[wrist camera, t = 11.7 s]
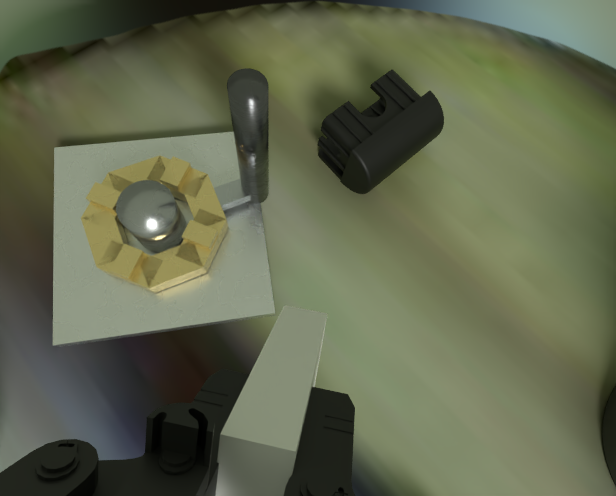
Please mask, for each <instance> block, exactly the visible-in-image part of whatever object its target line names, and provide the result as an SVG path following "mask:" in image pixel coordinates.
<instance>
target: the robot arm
mask: <svg viewBox="0 0 616 496" xmlns="http://www.w3.org/2000/svg"><path fill="white" fill-rule="evenodd" d="M327 314H328V313H323V312H318V311H313V310H308V309H303V308H298V307H292V306H287V305H284V307H283V309H282V311H281V313H280V315H279V317H278V319H277V321H276V323H275V325H274V327H273V329H272V331H271V333H270V335H269V337H268V339H267V341H266V343H265V345H264V347H263V349H262V351H261V353H260V355H259V357H258V359H257V361H256V363H255V365H254V367H253V369H252V371H251V373H250V375H249V374H244V373H240V372H235V371H231V370H226V369H221V370H220V371H218V372H216V373H215V374H213V375H212V376H210V377H209V378H208V379H207V381H206V382H205V384H204V385H203V387H202V388H201V391H200V392H199V393H198V394H197V396H196V397H195V399H194V402H192V403H191V404H190V403H175V404H168V405H166V406H163V407H161V408H159V409H156V410H155V411H154V412H153V413H151V414H150V415H149V416H148V417H147V428H146V445H145V453H144V455H143V456H141V457H138V458H134V459H126V460H101V461H98V455H97V451H96V449H95V448H94V447H93V446H92V445H91V444H89V443H88V442H84V441H81V440H77V439H71V440H59V441H55V442H52V443H48V444H46V445H44V446H42V447H40V448H38V449H36V450H34V451H32V452H31V453H29V454H28V455H26V456H25V457H23V458H22V459H20V460H19V461H17V462H16V463H14V464H13V465H11V466H10V467H8V468H7V469H5V470H4V471H2V472H1V473H0V496H355V494H354V492H353V489H352V482H351V476H352V456H353V434H354V415H355V407H354V405H353V403H352V401H351V399H350V398H349V396H348V394H344V393H339V392H334V391H330V390H325V389H320V388H316V387H314V386H315V381H316V375H317V370H318V364H319V358H320V353H321V347H322V342H323V336H324V331H325V325H326V319H327ZM603 445H604V452H605V456H606V461H607V464H608V467H609V470H610V473H611V476H612V478H613V480H614V482H615V485H616V387H615V388H614V390H613V392H612V394H611V395H610V398H609V400H608V403H607V406H606V409H605V413H604V419H603Z"/></svg>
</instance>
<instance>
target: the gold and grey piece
mask: <svg viewBox="0 0 616 496" xmlns="http://www.w3.org/2000/svg"><path fill="white" fill-rule="evenodd" d="M227 89H228V96H229V103H230V110H231V117H232V124H233V131H234V138H235V145H236V152H237V159H238V166H239V173H240V179H237V180H235V181H232V182H229V183H226V184H223V185H220V186H218V187H215V188H213V185H212V183H211V181H210V178H209V176H208V174H206V173H204V172H201V171H199V170H196V169H194V168H192V167H191V164H190V163H189V162H186V161H184V160H181V159H179V158H176V157H174V156H173V157H172V159H168V158H166V157H163V156H161V155H159V156H156V157H153V158H150V159H147V160H144V161H141V162H138V163H135V164H132V165H129V166H126V167H123V168H120V169H117V170H114V171H111V172H108V174H107V175H106V177H105V179H104V180H103V182H102V184H100V183H97V182H95V184H94V185H93V187H92V188H91V190H90V192H89V193H88V195H87V197H86V199H87V200H88V201H89V202H90V203H89V205H88V207H87V208H86V210H85V212H84V213H83V215H82V217H81V221H82V224H83V227H84V230H85V233H86V236H87V239H88V242H89V245H90V248H91V252H92V255H93V258H94V261H95V264H96V267H97V268H98V269H100V270H101V271H103V272H105V273H107V274H109V275H111V276H114V277H116V278H119V279H121V280H124V281H126V282H129V283H131V284H134V285H136V286H139V287H141V288H144V289H146V290H149V291H151V292H154V293H157V292H159V291H162V290H164V289H167V288H169V287H172V286H174V285H177V284H180V283H182V282H185V281H187V280H190V279H192V278H195V277H197V276H200V275H202V274H205V273H207V271H208V269H209V267H210V265H211V263H212V261H213V259H214V257H215V254H216V252H217V250H218V248H219V246H220V244H221V242H222V240H223V238H224V236H225V234H226V231H227V229H228V223H227V219H226V217H225V214H224V212H223V210H226V209H229V208H232V207H234V206H237V205H240V204H243V203H245V202H250V203H253V204H258V203H261V202H263V201H264V200H265V199H266V198H267V196H268V82H267V79H266V78H265V76H264V75H263V74H262V73H260V72H259V71H257V70H254V69H241V70H238V71H236V72H234V73H233V74H232V75H231V76H230V77H229V79H228V82H227ZM142 180H153V181H157V182H159V183H162V184H163V185H165V186H166V187H167V188H168V189H169V190H170V192H171V193H172V195H173V197H175V198H177V199H180V200H182V201H185V202H187V203H188V205H189V207H190V210H191V212H192V215H193V217H194V220H190V221H189V223H188V225H187V227H186V229H185V231H184V233H183V235H182V238H183V242H182V244H181V245H179V246H176V247H174V248H171V249H168V250H166V251H163V252H160V253H158V254H155V255H152V256H151V255H148V254H146V253H144V252H143V251H142V250H139V249H137V248H134V247H132V246H129V244H128V241H127V238H126V235H125V232H124V229H123V227H122V226H123V224H122V223H121V222H120V220H119V219H118V216H117V213H116V204H117V200H118V198H119V196H120V194H121V193H122V191H123V190H124V189H125V188H126V187H128V186H129V185H131V184H133V183H135V182H138V181H142Z"/></svg>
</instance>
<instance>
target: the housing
mask: <svg viewBox="0 0 616 496" xmlns="http://www.w3.org/2000/svg"><path fill="white" fill-rule="evenodd" d="M159 155H161V156H163V157H166V158H168V159H172V157H173V156H174V157H176V158H179V159H181V160H184V161H186V162H189V163H190V164H191V167H192V168H194V169H196V170H199V171H201V172H204V173H206V174H208V176H209V178H210V181H211V183H212V185H213V188H215V187H218V186H220V185H223V184H226V183H229V182H232V181H235V180H237V179H240V173H239V166H238V159H237V152H236V145H235V138H234V132H223V133H212V134H201V135H190V136H179V137H168V138H156V139H145V140H134V141H123V142H112V143H101V144H89V145H78V146H67V147H56V148H54V266H53V345H54V346H60V347H63V346H70V345H77V344H83V343H90V342H97V341H104V340H111V339H118V338H124V337H131V336H138V335H145V334H152V333H159V332H165V331H172V330H179V329H186V328H193V327H200V326H206V325H213V324H220V323H227V322H234V321H241V320H247V319H254V318H261V317H268V316H275V308H274V300H273V293H272V286H271V278H270V271H269V264H268V257H267V249H266V242H265V235H264V227H263V220H262V213H261V205H260V203H258V204H253V203H250V202H245V203H243V204H240V205H237V206H234V207H232V208H229V209H226V210H223V212H224V214H225V217H226V219H227V223H228V229H227V231H226V234H225V236H224V238H223V240H222V242H221V244H220V246H219V248H218V250H217V252H216V254H215V257H214V259H213V261H212V263H211V265H210V267H209V269H208V271H207V273H205V274H202V275H200V276H197V277H195V278H192V279H190V280H187V281H185V282H182V283H180V284H177V285H174V286H172V287H169V288H167V289H164V290H162V291H159V292H157V293H154V292H151V291H149V290H146V289H144V288H141V287H139V286H136V285H134V284H131V283H129V282H126V281H124V280H121V279H119V278H116V277H114V276H111V275H109V274H107V273H105V272H103V271H101V270H100V269H98V268H97V267H96V264H95V261H94V258H93V255H92V252H91V248H90V245H89V242H88V239H87V236H86V233H85V230H84V227H83V224H82V221H81V217H82V215H83V213H84V212H85V210H86V208H87V207H88V205H89V203H90V202H89V201H88V200H87V199H86V197H87V195H88V193H89V192H90V190H91V188H92V187H93V185H94V184H95V182H97V183H100V184H102V182H103V180H104V179H105V177H106V175H107V174H108V172H111V171H114V170H117V169H120V168H123V167H126V166H129V165H132V164H135V163H138V162H141V161H144V160H147V159H150V158H153V157H156V156H159ZM116 213H117V216H118V219H119V220H120V222H121V223H122V224H123V226H122V227H123V229H124V232H125V235H126V238H127V241H128V244H129V246H132V247H134V248H137V249H139V250H142V251H143V252H144V253H146V254H148V255H151V256H152V255H155V254H158V253H160V252H163V251H166V250H168V249H171V248H174V247H176V246H179V245H181V244H182V242H183V238H182V235H183V233H184V231H185V229H186V227H187V225H188V223H189V221H190V220H194V217H193V215H192V212H191V210H190V207H189V205H188V203H187V202H185V201H182V200H180V199H177V198H175V197H173V195H172V193H171V192H170V190H169V189H168V188H167V187H166V186H165V185H163V184H162V183H159V182H157V181H153V180H142V181H138V182H135V183H133V184H131V185H129V186H128V187H126V188H125V189H124V190H123V191H122V193H121V194H120V196H119V198H118V200H117V204H116Z"/></svg>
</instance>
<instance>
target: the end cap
mask: <svg viewBox="0 0 616 496" xmlns="http://www.w3.org/2000/svg"><path fill="white" fill-rule="evenodd" d="M370 88H371V89H372V90H373V91H374V92H375V93H376V94H377V95H378V96H379V97H380V99H379V100H378V101H377V102H375V103H374V104H373V105H371V106H370V107H369V108H367V109H366V110H365V111H363V112H362V113H360V112H359V111H358V110H357V109H356V108H355V107H354V106H353V105H352V104H351V103H350V102H349V101H348V102H346V103H345V104H343V105H342V106H341V107H339V108H338V109H337V110H335V111H334V112H332V113H331V114H330V115H328V116H327V117H326V118H325V119H324V121H323V123H322V127H321V131H322V132H323V133H324V134H325V135H326V136H327V139H325V138H324V137H323V136H321V137H320V138H319V141H318V146H319V147H320V149H319V153H318V155H319V157H320V159H321V160H322V161H323V162H324V163H325V164H326V165H327V166H328V167H329V168H330V169H331V170H332V171H333V172H334V173H335V174H336V176H337V177H338V178H339V179H340V180H341V182H342V183H343V184H344V185H345V186H346V187H347V188H349V189H350V190H352V191H353V192H356V193H359V194H365V193H368V192H369V191H370V190H372V189H373V188H374V187H375V186H377V185H378V184H379V183H380V182H381V181H383V180H384V179H385V178H386V177H388V176H389V175H390V174H391V173H393V172H394V171H395V170H396V169H397V168H399V167H400V166H401V165H402V164H404V163H405V162H406V161H407V160H409V159H410V158H411V157H412V156H413V155H415V154H416V153H417V152H418V151H420V150H421V149H422V148H423V147H424V146H426V145H427V144H428V143H429V142H431V141H432V140H433V139H434V138H436V137H437V136H438V135H439V134H440V133H441V131H442V129H443V125H444V116H443V111H442V108H441V105H440V103H439V101H438V100H437V98H436V97H435V95H434V94H433V93H432V92H431V91H428V92H427V93H426V94H425V95H423V96H422V97H420V96H419V95H418V94H417V93H416V92H415V91H414V90H413V89H412V88H411V87H410V86H409V85H408V84H407V83H406V82H405V81H404V80H403V79H402V78H401V77H400V76H399V75H398V74H397V73H396V72H395V71H393V70H390V71H389V72H388V73H386V74H385V75H383V76H382V77H381V78H379V79H378V80H377V81H375V82H374V83H372V84H371V87H370Z"/></svg>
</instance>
